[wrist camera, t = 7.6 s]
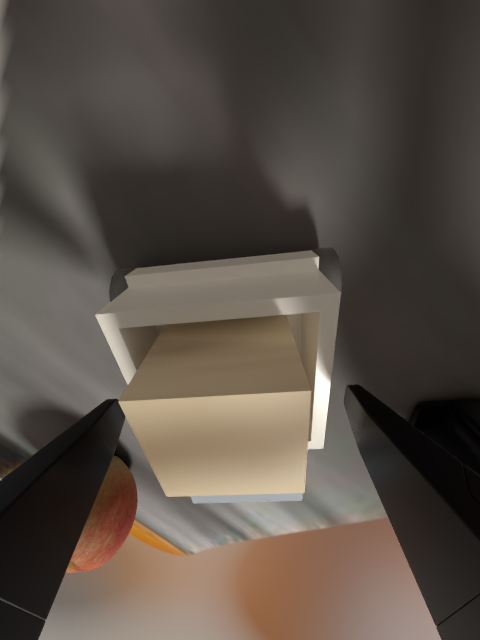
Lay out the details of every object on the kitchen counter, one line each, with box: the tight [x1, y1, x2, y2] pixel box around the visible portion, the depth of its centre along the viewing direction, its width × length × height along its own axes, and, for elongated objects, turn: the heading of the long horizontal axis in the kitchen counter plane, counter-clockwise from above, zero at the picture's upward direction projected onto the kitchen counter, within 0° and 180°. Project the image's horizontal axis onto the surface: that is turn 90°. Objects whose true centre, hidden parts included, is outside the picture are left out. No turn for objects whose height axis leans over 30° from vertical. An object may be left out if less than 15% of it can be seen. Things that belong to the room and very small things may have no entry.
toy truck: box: [95, 248, 342, 503], centre depth 12 cm, size 13×10×6 cm
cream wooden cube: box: [118, 315, 311, 497], centre depth 9 cm, size 5×5×5 cm
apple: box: [66, 455, 137, 573], centre depth 18 cm, size 8×8×8 cm
